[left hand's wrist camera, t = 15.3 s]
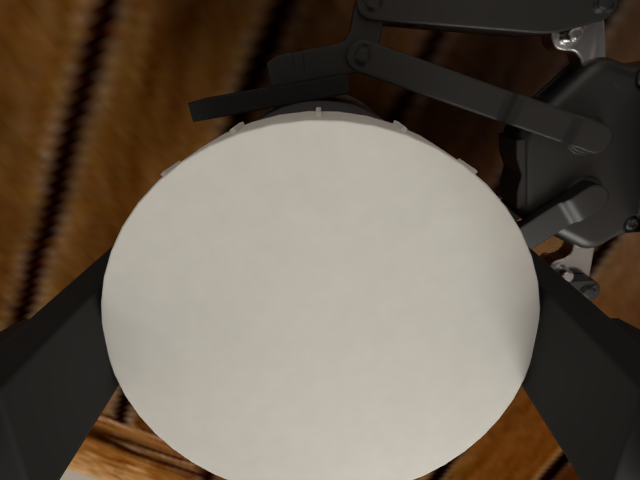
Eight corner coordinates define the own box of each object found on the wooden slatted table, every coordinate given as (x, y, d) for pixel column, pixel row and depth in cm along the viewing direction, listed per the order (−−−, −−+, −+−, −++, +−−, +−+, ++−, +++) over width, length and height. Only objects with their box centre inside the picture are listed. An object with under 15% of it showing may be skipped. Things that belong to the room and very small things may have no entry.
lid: (588, 192, 11) (633, 213, 9) (415, 484, 14) (427, 535, 13) (178, 39, 10) (150, 34, 8) (99, 400, 13) (69, 445, 12)
